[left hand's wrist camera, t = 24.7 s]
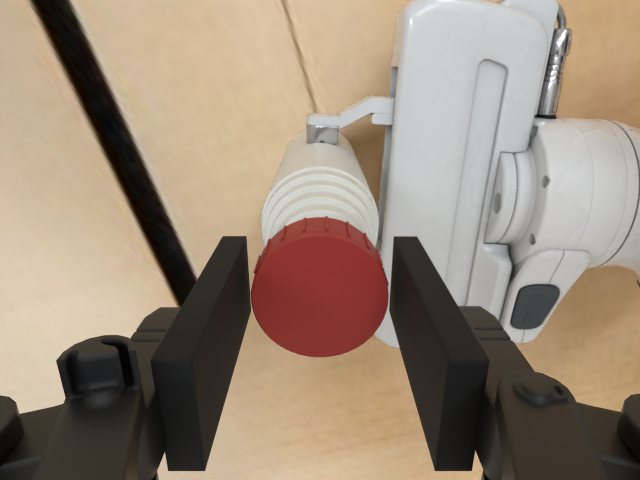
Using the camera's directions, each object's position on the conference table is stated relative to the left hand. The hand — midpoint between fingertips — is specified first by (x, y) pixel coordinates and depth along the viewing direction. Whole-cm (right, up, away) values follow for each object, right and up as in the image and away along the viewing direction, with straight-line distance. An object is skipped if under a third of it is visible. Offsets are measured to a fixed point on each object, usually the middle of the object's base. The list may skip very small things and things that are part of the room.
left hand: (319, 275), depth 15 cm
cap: (0, 0, -1) cm, 1 cm away
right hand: (-1, +4, +12) cm, 12 cm away
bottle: (0, +7, +18) cm, 19 cm away
